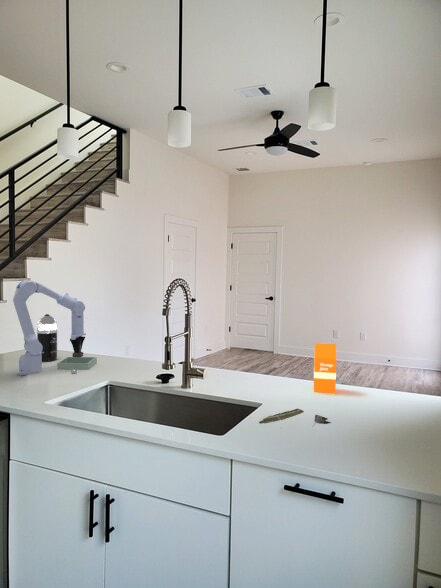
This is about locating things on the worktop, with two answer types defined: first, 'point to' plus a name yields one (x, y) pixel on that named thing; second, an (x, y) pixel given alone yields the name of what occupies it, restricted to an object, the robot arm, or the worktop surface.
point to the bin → (77, 363)
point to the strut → (78, 353)
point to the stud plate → (73, 371)
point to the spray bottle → (47, 337)
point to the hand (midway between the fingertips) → (77, 351)
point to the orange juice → (325, 368)
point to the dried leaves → (289, 414)
